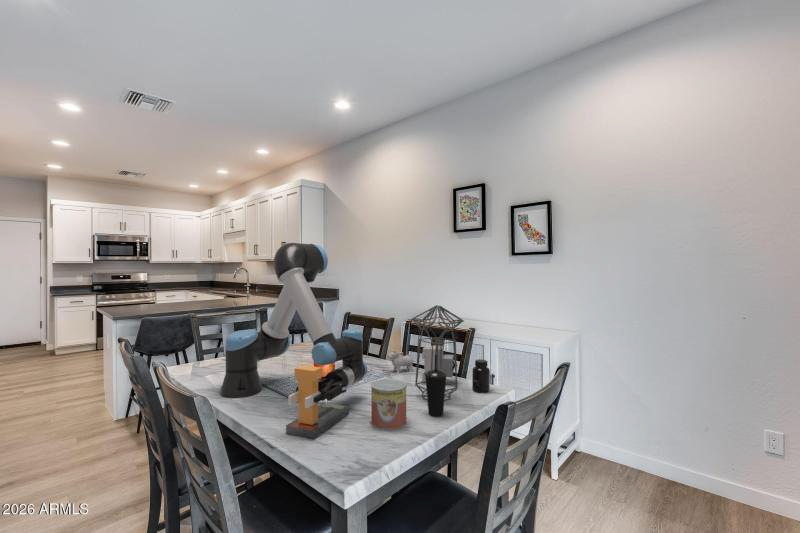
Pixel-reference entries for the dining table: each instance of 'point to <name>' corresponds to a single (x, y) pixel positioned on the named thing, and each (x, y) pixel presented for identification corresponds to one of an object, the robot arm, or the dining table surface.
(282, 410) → the dining table surface
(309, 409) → the handle
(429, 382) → the drinking cup
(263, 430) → the dining table surface
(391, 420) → the canned food
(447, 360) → the circuit breaker
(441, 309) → the geometric lantern
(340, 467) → the dining table surface
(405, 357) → the dog figurine
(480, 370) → the supplement bottle
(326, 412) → the switch plate
